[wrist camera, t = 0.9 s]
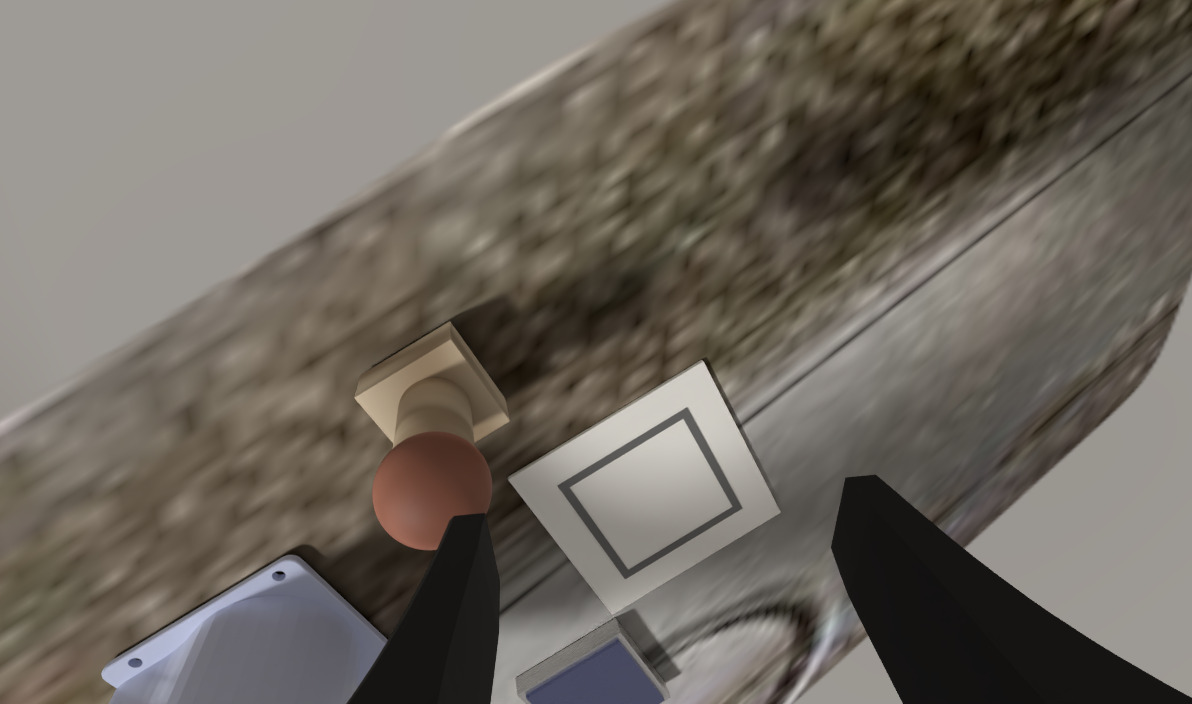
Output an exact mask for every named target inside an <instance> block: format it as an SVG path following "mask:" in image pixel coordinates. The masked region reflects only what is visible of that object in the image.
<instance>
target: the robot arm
mask: <svg viewBox="0 0 1192 704" xmlns="http://www.w3.org/2000/svg"><path fill="white" fill-rule="evenodd" d="M831 549H832V552H833V554H834V557H835V560H836V563H837V566H838V569H839V572H840V575H841V577H842V580H843V582H844V585H845V588H846V590H847V593H848V596H849V598H850V600H851V602H852V604H853V606H854V608H855V610H856V612H857V614H858V616H859V618H860V620H861V622H862V624H863V626H864V628H865V630H866V632H867V634H868V636H869V638H870V640H871V642H872V644H873V646H874V648H875V649H876V652H877V654H878V656H879V658H880V659H881V661H882V663H883V665H884V667H885V669H886V671H887V673H888V675H889V677H890V679H891V681H892V683H893V685H894V687H895V689H896V691H897V693H898V695H899V697H900V699H901V700H902V702H903V704H1192V698H1191V697H1189V696H1187V695H1185V694H1184V693H1182V692H1180V691H1178V690H1176V689H1174V688H1172V687H1171V686H1169V685H1167V684H1165V683H1163V682H1162V681H1160V680H1158V679H1156V678H1155V677H1153V676H1151V675H1150V674H1148V673H1146V672H1144V671H1142V670H1141V669H1139V668H1138V667H1136V666H1134V665H1132V664H1131V663H1129V662H1127V661H1125V660H1123V659H1122V658H1120V657H1118V656H1117V655H1115V654H1113V653H1112V652H1110V651H1109V650H1107V649H1105V648H1104V647H1102V646H1100V645H1099V644H1097V643H1096V642H1094V641H1092V640H1091V639H1089V638H1088V637H1086V636H1085V635H1083V634H1082V633H1080V632H1078V631H1077V630H1076V629H1074V628H1072V627H1071V626H1069V625H1068V624H1066V623H1065V622H1063V621H1061V620H1060V619H1059V618H1057V617H1055V616H1054V615H1053V614H1051V613H1050V612H1048V611H1046V610H1045V609H1044V608H1042V607H1041V606H1039V605H1038V604H1037V603H1035V602H1034V601H1032V600H1031V599H1029V598H1028V597H1027V596H1025V595H1024V594H1023V593H1021V592H1020V591H1019V590H1017V589H1016V588H1014V587H1013V586H1012V585H1010V584H1009V583H1008V582H1006V581H1005V580H1004V579H1002V578H1001V577H999V576H998V575H997V574H995V573H994V572H993V571H992V570H990V569H989V568H988V567H986V566H985V565H984V564H982V563H981V562H980V561H978V560H977V559H976V558H975V557H973V556H972V555H971V554H969V553H968V552H967V551H966V550H965V549H963V548H962V547H961V546H960V545H959V544H957V543H956V542H955V541H954V540H952V539H951V538H950V537H949V536H947V535H946V534H945V533H944V532H943V531H941V530H940V529H939V528H938V527H937V526H935V525H934V524H933V523H932V522H931V521H929V520H928V519H927V518H926V517H925V516H924V515H922V514H921V513H920V512H919V511H918V510H916V509H915V508H914V507H913V506H912V505H911V504H909V503H908V502H907V501H906V500H905V499H904V498H902V497H901V496H900V495H899V494H898V493H897V492H895V491H894V490H893V489H892V488H891V487H890V486H888V485H887V484H886V483H885V482H884V481H882V480H881V479H880V478H879V477H878V476H876V475H869V476H858V477H848V478H845V483H844V488H843V493H842V498H841V502H840V507H839V512H838V517H837V521H836V526H835V531H834V536H833V540H832V545H831ZM276 571H282V572H284V573H285V574H283V575H279V574H277V573H275V572H276ZM499 604H500V580H499V575H498V570H497V566H496V561H495V556H494V552H493V547H492V543H491V538H490V533H489V529H488V524H487V519H486V515H485V513H478V514H468V515H458V516H453V517H452V518H451V519H450V520H449V523H448V525H447V528H446V530H445V532H444V535H443V537H442V539H441V541H440V544H439V546H438V548H437V550H436V552H435V555H434V557H433V559H432V561H431V563H430V565H429V567H428V569H427V571H426V573H425V575H424V577H423V579H422V581H421V583H420V584H419V586H418V588H417V590H416V592H415V594H414V596H413V597H412V599H411V601H410V603H409V605H408V607H407V609H406V610H405V612H404V614H403V616H402V618H401V619H400V621H399V623H398V624H397V626H396V628H395V629H394V631H393V633H392V634H391V636H390V638H389V639H388V640H387V639H386V638H385V637H384V636H383V635H382V634H381V633H380V632H379V631H378V630H377V629H376V628H375V627H374V626H373V625H371V624H370V623H369V622H368V621H367V620H366V619H365V618H364V617H363V616H362V615H361V614H360V613H359V612H358V611H357V610H356V609H354V608H353V607H352V606H351V605H350V604H349V603H348V602H347V601H346V600H345V599H344V598H343V597H342V596H341V595H340V594H339V593H337V592H336V591H335V590H334V589H333V588H332V587H331V586H330V585H329V584H328V583H327V582H326V581H325V580H324V579H323V578H322V577H320V576H319V575H318V574H317V573H316V572H315V571H314V570H313V569H312V568H311V567H310V566H309V565H308V564H307V563H306V562H305V561H304V560H302V559H301V558H300V557H298V556H296V555H286V556H284V557H282V558H280V559H278V560H277V561H275V562H273V563H272V564H270V565H269V566H267V567H265V568H264V569H262V570H260V571H259V572H257V573H255V574H254V575H252V576H250V577H249V578H247V579H245V580H244V581H242V582H240V583H239V584H237V585H235V586H234V587H232V588H231V589H229V590H227V591H226V592H224V593H222V594H221V595H219V596H217V597H216V598H214V599H212V600H211V601H209V602H207V603H206V604H204V605H202V606H201V607H199V608H197V609H196V610H194V611H193V612H191V613H189V614H188V615H186V616H184V617H183V618H181V619H179V620H178V621H176V622H174V623H173V624H171V625H169V626H168V627H166V628H164V629H163V630H161V631H159V632H158V633H156V634H155V635H153V636H151V637H150V638H148V639H146V640H145V641H143V642H141V643H140V644H138V645H136V646H135V647H133V648H131V649H130V650H128V651H126V652H125V653H123V654H121V655H120V656H118V657H117V658H115V659H113V660H112V661H110V662H109V663H107V664H106V666H105V667H104V669H103V671H102V674H101V675H102V678H103V679H104V680H105V681H106V682H108V683H109V684H111V685H112V686H114V687H115V688H117V689H116V691H115V693H114V695H113V696H112V698H111V700H110V702H109V704H490V702H491V694H492V686H493V678H494V670H495V661H496V653H497V645H498V636H499ZM134 658H138V659H141V660H136V659H134Z"/></svg>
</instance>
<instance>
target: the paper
mask: <svg viewBox="0 0 1192 704" xmlns="http://www.w3.org/2000/svg"><path fill="white" fill-rule="evenodd" d="M508 480H509V482H510V483H511V484H512V486H513V487H514V488H515V489H516V491H517V492H518V493H519V495H520V496H521V497H522V499H523V500H524V501H525V502H526V504H527V505H528V506H529V508H530V509H531V510H532V512H533V513H534V514H535V515H536V517H537V518H538V519H539V521H540V522H541V523H542V524H543V526H544V527H545V528H546V530H547V531H548V532H549V534H550V535H551V536H552V537H553V539H554V540H555V541H556V543H557V544H558V545H559V547H560V548H561V549H562V550H563V552H564V553H565V554H566V556H567V557H568V558H569V560H570V561H571V562H572V563H573V565H574V566H575V567H576V569H577V570H578V571H579V573H580V574H581V575H582V576H583V578H584V579H585V580H586V582H587V583H588V584H589V586H590V587H591V588H592V589H593V591H594V592H595V593H596V595H597V596H598V597H599V599H600V600H601V601H602V602H603V604H604V605H605V606H606V608H607V609H608V610H609V611H610V613H611V614H612V615H613V614H614V613H616V612H618V611H619V610H621V609H623V608H624V607H626V606H628V605H629V604H631V603H632V602H634V601H636V600H637V599H639V598H641V597H642V596H644V595H646V594H647V593H649V592H651V591H652V590H654V589H656V588H657V587H659V586H661V585H662V584H664V583H665V582H667V581H669V580H670V579H672V578H674V577H675V576H677V575H679V574H680V573H682V572H684V571H685V570H687V569H689V568H690V567H692V566H694V565H695V564H697V563H699V562H700V561H702V560H703V559H705V558H707V557H708V556H710V555H712V554H713V553H715V552H717V551H718V550H720V549H722V548H723V547H725V546H727V545H728V544H730V543H732V542H733V541H735V540H736V539H738V538H740V537H741V536H743V535H745V534H746V533H748V532H750V531H751V530H753V529H755V528H756V527H758V526H760V525H761V524H763V523H765V522H766V521H768V520H769V519H771V518H773V517H774V516H776V515H778V514H779V513H781V512H780V510H779V508H778V506H777V504H776V502H775V500H774V498H773V496H772V494H771V492H770V490H769V488H768V486H767V484H766V482H765V480H764V478H763V477H762V475H761V473H760V471H759V469H758V467H757V465H756V463H755V461H754V459H753V457H752V455H751V453H750V451H749V449H748V447H747V445H746V443H745V441H744V439H743V438H742V436H741V434H740V432H739V430H738V428H737V426H736V424H735V422H734V420H733V418H732V416H731V414H730V412H729V410H728V408H727V406H726V404H725V402H724V400H723V399H722V397H721V395H720V393H719V391H718V389H717V387H716V385H715V383H714V381H713V379H712V377H711V375H710V373H709V371H708V369H707V367H706V365H705V363H704V361H703V360H700V361H699V362H697V363H695V364H694V365H692V366H690V367H689V368H687V369H685V370H684V371H682V372H680V373H679V374H677V375H675V376H674V377H672V378H671V379H669V380H667V381H666V382H664V383H662V384H661V385H659V386H657V387H656V388H654V389H652V390H651V391H649V392H647V393H646V394H644V395H642V396H641V397H639V398H637V399H636V400H634V401H633V402H631V403H629V404H628V405H626V406H624V407H623V408H621V409H619V410H618V411H616V412H614V413H613V414H611V415H609V416H608V417H606V418H604V419H603V420H601V421H599V422H598V423H596V424H595V425H593V426H591V427H590V428H588V429H586V430H585V431H583V432H581V433H580V434H578V435H576V436H575V437H573V438H571V439H570V440H568V441H566V442H565V443H563V444H561V445H560V446H558V447H557V448H555V449H553V450H552V451H550V452H548V453H547V454H545V455H543V456H542V457H540V458H538V459H537V460H535V461H533V462H532V463H530V464H528V465H527V466H525V467H523V468H522V469H520V470H519V471H517V472H515V473H514V474H512V475H510V476H509V477H508Z"/></svg>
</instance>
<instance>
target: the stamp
mask: <svg viewBox="0 0 1192 704" xmlns="http://www.w3.org/2000/svg"><path fill="white" fill-rule="evenodd" d="M354 398H355V399H356V400H357V402H358V403H359V404H360V405H361V406H362V407H363V409H364V410H365V411H366V412H367V413H368V414H369V416H370V417H371V418H372V419H373V420H374V421H375V423H376V424H377V425H378V426H379V427H380V428H381V430H382V431H383V432H384V433H385V434H386V435H387V437H388V438H389V439H390V440H391V441H392V443H393V449H392V450H391V451H390V452H389V453H388V454H387V455H386V456H385V458H384V459H383V461H382V462H381V464H380V466H379V468H378V470H377V472H376V475H375V479H374V483H373V492H372V495H373V504H374V509H375V513H376V515H377V518H378V520H379V521H380V523H381V525H382V526H383V528H384V529H385V530H386V531H387V532H388V534H390V535H391V536H392V537H393V538H394V539H395V540H397V541H398V542H400V543H402V544H404V545H406V546H409V547H411V548H415V549H420V550H437V548H438V546H439V544H440V541H441V539H442V537H443V535H444V532H445V530H446V528H447V525H448V523H449V520H450V519H451V518H452V517H453V516H458V515H468V514H478V513H485V515H486V513H487V511H488V509H489V506H490V502H491V497H492V477H491V473H490V470H489V467H488V464H487V462H486V460H485V459H484V457H483V456H482V454H481V453H480V452H479V450H478V449H477V448H476V447H475V442H476V441H478V440H480V439H481V438H483V437H485V436H486V435H488V434H489V433H491V432H493V431H494V430H496V429H498V428H499V427H501V426H503V425H504V424H506V423H508V422H509V421H510V419H509V414H508V409H507V405H506V400H505V398H504V396H503V395H502V393H501V392H500V391H499V389H498V388H497V386H496V385H495V384H494V382H493V381H492V379H491V378H490V377H489V375H488V374H487V372H486V371H485V370H484V368H483V367H482V365H481V364H480V363H479V361H478V360H477V358H476V357H475V356H474V354H473V353H472V351H471V350H470V349H469V347H468V346H467V344H466V343H465V342H464V340H463V339H462V337H461V336H460V335H459V333H458V332H457V330H456V329H455V328H454V326H453V325H452V323H451V322H450V321H449V322H447V323H445V324H444V325H442V326H440V327H439V328H437V329H435V330H434V331H432V332H430V333H429V334H427V335H425V336H424V337H422V338H420V339H419V340H417V341H416V342H414V343H412V344H411V345H409V346H407V347H406V348H404V349H402V350H401V351H399V352H397V353H396V354H394V355H392V356H391V357H389V358H387V359H386V360H384V361H382V362H381V363H379V364H378V365H376V366H374V367H373V368H371V369H369V370H368V371H366V372H365V373H363V374H362V375H361V376H360V379H359V383H358V386H357V390H356V393H355V397H354Z"/></svg>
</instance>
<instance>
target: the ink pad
mask: <svg viewBox="0 0 1192 704" xmlns="http://www.w3.org/2000/svg"><path fill="white" fill-rule="evenodd" d="M515 679H516V687H517V695H518V696H519V697H520V698H521V699H522V700H523V701H524V702H525V703H526V704H660V703H662V702H664V701H665V700H667V699H668V698H670V694H669V692H668V689H667V686H666V684H665V681H664V680H663V679H662V677H661V676H660V675H659V674H658V672H657V671H656V670H655V668H654V667H653V666H652V664H651V663H650V662H649V661H648V659H647V658H646V657H645V655H644V654H643V653H642V651H641V650H640V649H639V648H638V646H637V645H636V644H635V642H634V641H633V640H632V638H631V637H630V636H629V635H628V633H627V632H626V631H625V629H624V628H623V627H622V625H621V624H620V623H619V622H618V620H617V619H616V618H614V619H613V620H611V621H609V622H608V623H606V624H604V625H603V626H601V627H599V628H598V629H596V630H594V631H593V632H591V633H589V634H588V635H586V636H585V637H583V638H581V639H580V640H578V641H576V642H575V643H573V644H571V645H570V646H568V647H566V648H565V649H563V650H561V651H560V652H558V653H556V654H555V655H553V656H552V657H550V658H548V659H547V660H545V661H543V662H542V663H540V664H538V665H537V666H535V667H533V668H532V669H530V670H528V671H527V672H525V673H523V674H522V675H520V676H519V677H517V678H515Z"/></svg>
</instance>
